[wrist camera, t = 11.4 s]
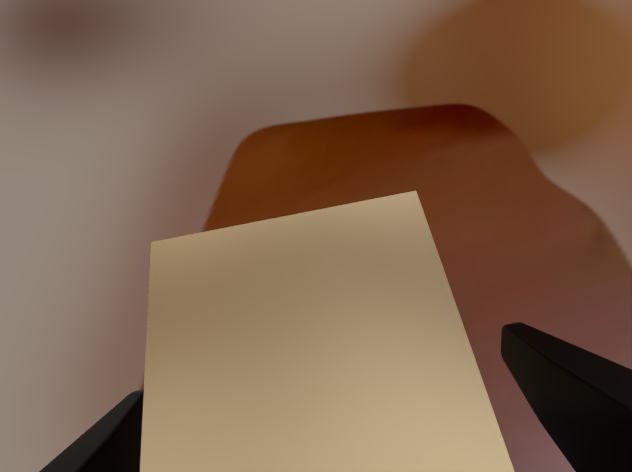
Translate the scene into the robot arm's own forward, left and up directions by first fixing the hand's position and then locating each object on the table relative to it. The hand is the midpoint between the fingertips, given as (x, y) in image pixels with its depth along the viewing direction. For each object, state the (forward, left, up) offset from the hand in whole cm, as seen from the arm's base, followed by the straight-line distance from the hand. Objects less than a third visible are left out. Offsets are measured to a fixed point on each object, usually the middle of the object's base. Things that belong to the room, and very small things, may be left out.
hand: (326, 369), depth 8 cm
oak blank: (0, 0, -9) cm, 9 cm away
